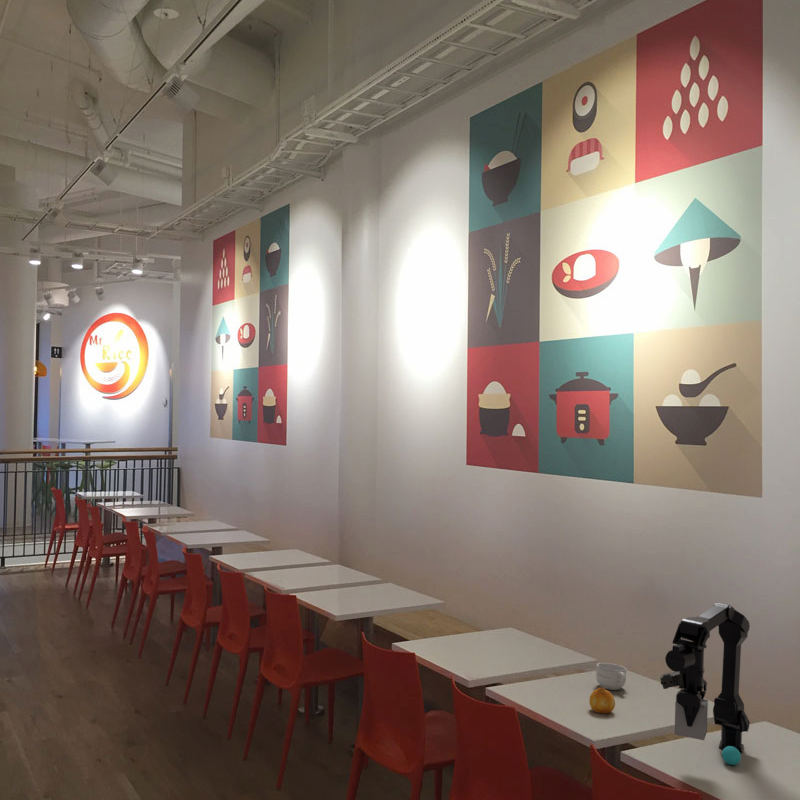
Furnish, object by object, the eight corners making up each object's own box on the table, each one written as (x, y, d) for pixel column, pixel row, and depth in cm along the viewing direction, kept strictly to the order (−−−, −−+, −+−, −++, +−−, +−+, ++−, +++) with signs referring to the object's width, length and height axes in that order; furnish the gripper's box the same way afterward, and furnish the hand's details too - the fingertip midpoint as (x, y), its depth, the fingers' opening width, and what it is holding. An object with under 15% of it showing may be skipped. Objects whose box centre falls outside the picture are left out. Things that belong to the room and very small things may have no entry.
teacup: (591, 683, 297) (592, 661, 297) (619, 683, 298) (620, 661, 298) (605, 695, 283) (606, 672, 283) (634, 695, 284) (635, 673, 284)
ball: (722, 759, 228) (722, 741, 229) (741, 763, 226) (741, 745, 226) (721, 765, 224) (721, 747, 224) (740, 769, 222) (740, 751, 222)
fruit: (594, 709, 260) (604, 687, 262) (581, 703, 267) (591, 681, 270) (612, 721, 261) (623, 699, 264) (599, 715, 269) (609, 693, 271)
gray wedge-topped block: (678, 726, 226) (679, 694, 227) (707, 731, 223) (707, 699, 223) (674, 734, 219) (675, 702, 220) (704, 740, 216) (704, 707, 216)
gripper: (667, 653, 234) (666, 706, 233) (657, 668, 217) (656, 726, 217) (707, 659, 229) (706, 714, 228) (700, 675, 212) (699, 734, 211)
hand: (691, 721), depth 221 cm, fingers closed on gray wedge-topped block, 8 cm apart
